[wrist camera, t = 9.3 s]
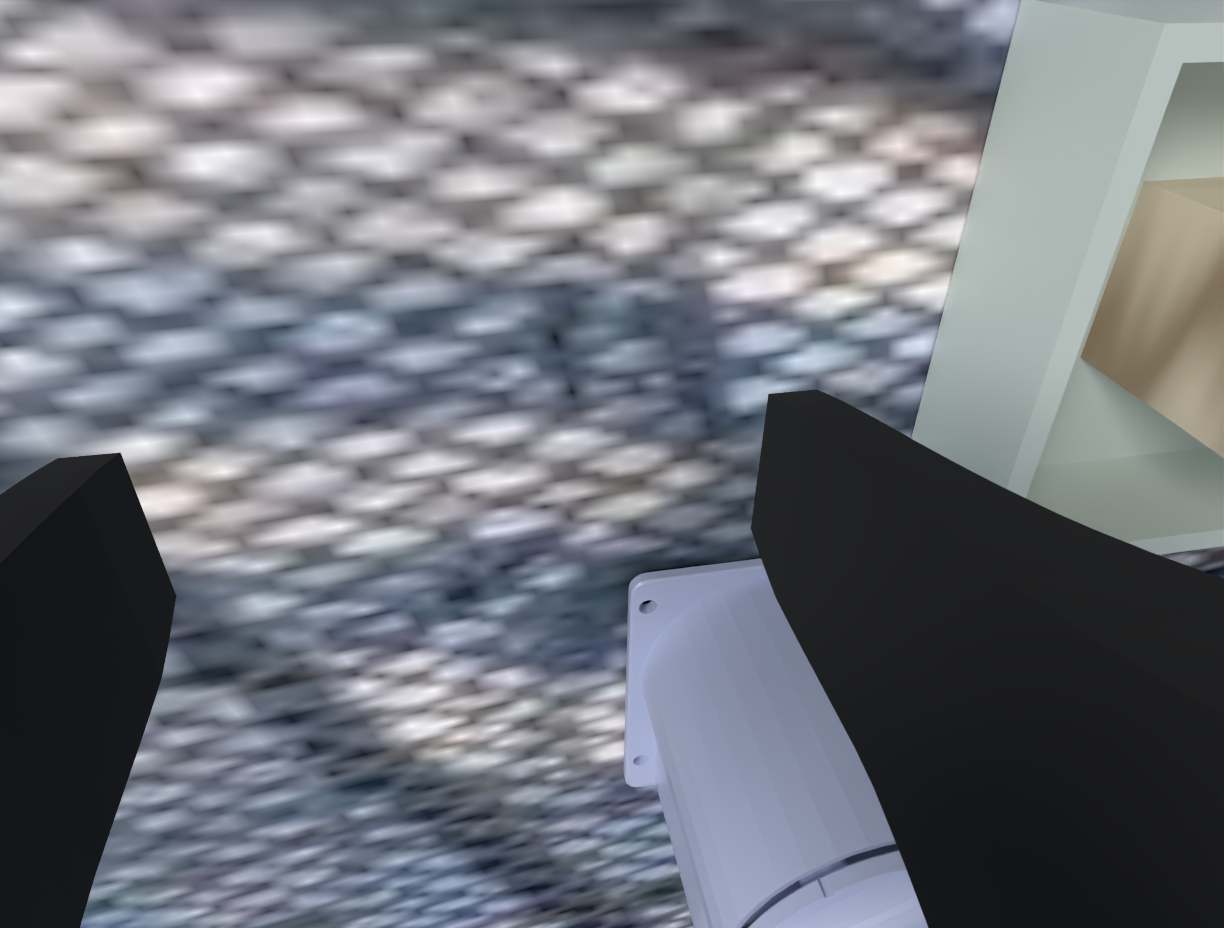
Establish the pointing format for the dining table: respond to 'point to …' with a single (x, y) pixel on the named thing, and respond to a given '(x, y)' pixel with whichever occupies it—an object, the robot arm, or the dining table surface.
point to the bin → (1078, 268)
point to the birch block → (1169, 307)
